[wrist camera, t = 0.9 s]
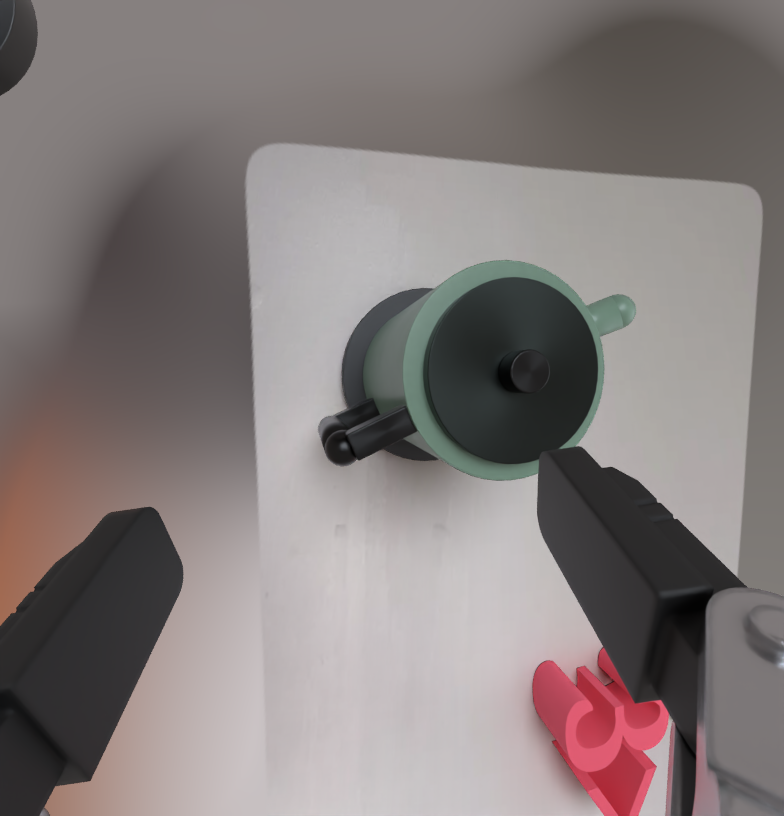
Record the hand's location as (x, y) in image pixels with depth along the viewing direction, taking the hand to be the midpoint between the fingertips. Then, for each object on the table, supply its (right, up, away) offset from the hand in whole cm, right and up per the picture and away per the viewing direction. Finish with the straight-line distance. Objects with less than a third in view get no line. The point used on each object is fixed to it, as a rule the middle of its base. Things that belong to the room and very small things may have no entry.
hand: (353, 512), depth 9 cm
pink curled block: (+19, -28, +32) cm, 47 cm away
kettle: (+4, +5, +25) cm, 25 cm away
